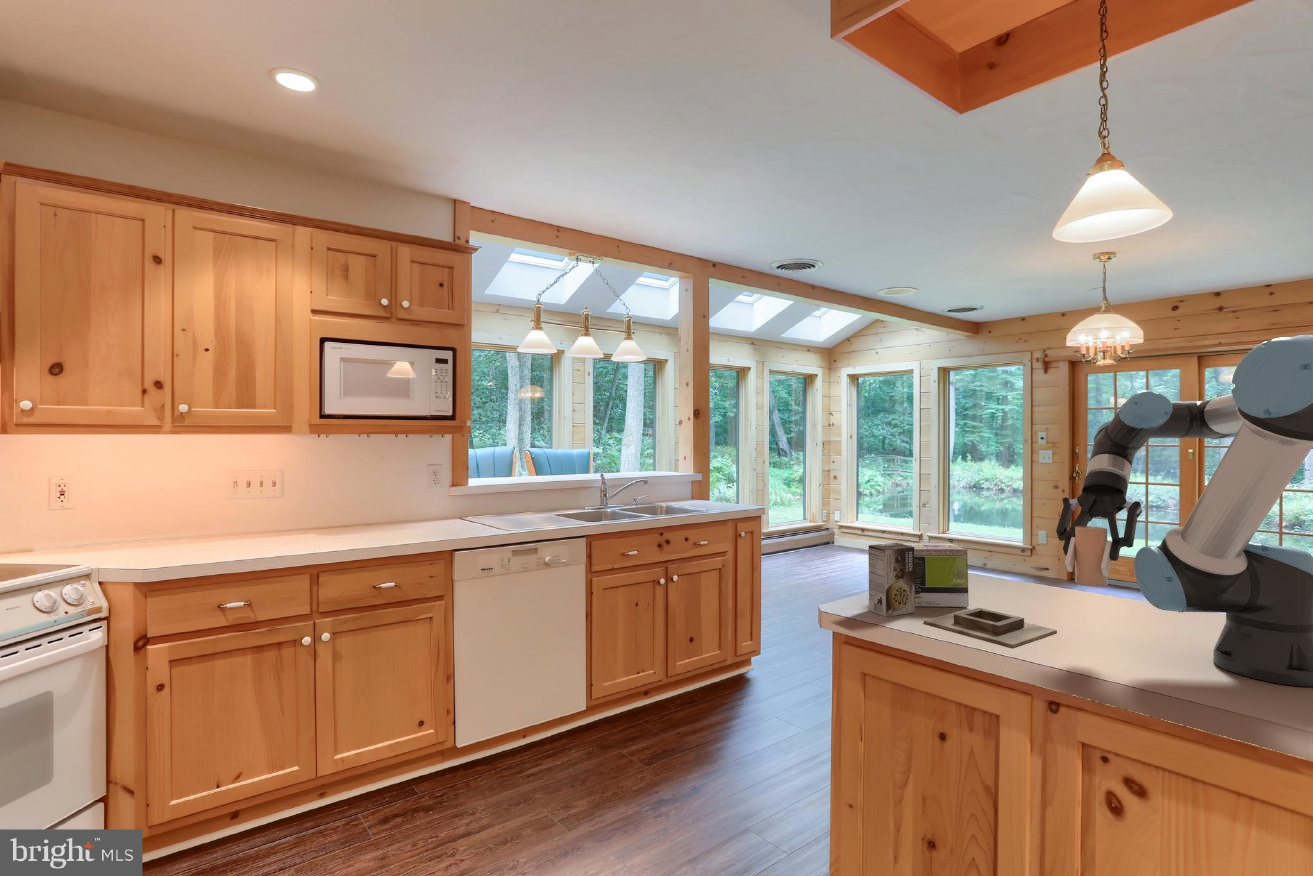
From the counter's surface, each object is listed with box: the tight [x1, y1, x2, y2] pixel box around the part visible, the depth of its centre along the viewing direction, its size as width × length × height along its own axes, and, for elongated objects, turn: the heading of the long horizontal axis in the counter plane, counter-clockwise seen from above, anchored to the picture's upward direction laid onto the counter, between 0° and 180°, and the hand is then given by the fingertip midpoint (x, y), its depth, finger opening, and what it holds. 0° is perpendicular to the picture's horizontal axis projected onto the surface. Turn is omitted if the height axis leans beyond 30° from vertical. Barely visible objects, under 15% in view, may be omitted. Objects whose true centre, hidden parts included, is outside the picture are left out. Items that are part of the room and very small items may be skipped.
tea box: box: [899, 542, 970, 608], centre depth 161 cm, size 15×10×15 cm, turn 84°
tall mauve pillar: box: [1074, 525, 1109, 588], centre depth 124 cm, size 5×5×11 cm
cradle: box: [922, 607, 1058, 648], centre depth 140 cm, size 20×18×3 cm
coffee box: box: [868, 542, 916, 617], centre depth 153 cm, size 9×6×16 cm
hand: (1086, 569), depth 121 cm, fingers closed on tall mauve pillar, 5 cm apart
